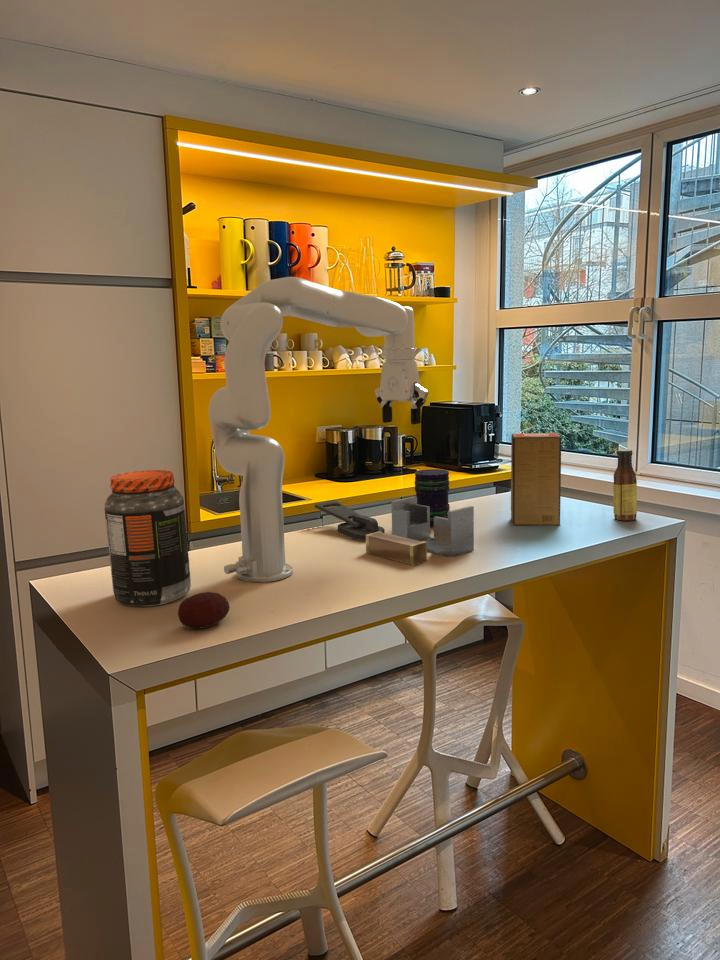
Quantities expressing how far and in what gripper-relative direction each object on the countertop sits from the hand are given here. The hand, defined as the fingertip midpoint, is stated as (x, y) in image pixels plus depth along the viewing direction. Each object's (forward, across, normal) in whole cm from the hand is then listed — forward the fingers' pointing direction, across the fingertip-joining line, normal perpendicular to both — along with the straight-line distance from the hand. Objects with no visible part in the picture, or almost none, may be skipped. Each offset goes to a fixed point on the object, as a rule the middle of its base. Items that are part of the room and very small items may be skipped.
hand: (401, 423), depth 191 cm
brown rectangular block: (+31, +11, -16) cm, 36 cm away
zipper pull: (+31, -17, -4) cm, 35 cm away
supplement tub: (+31, -10, -69) cm, 76 cm away
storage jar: (+31, -4, +18) cm, 36 cm away
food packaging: (+31, +18, +36) cm, 51 cm away
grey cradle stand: (+31, +11, -2) cm, 33 cm away
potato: (+31, +13, -72) cm, 79 cm away
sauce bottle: (+31, +36, +54) cm, 72 cm away
